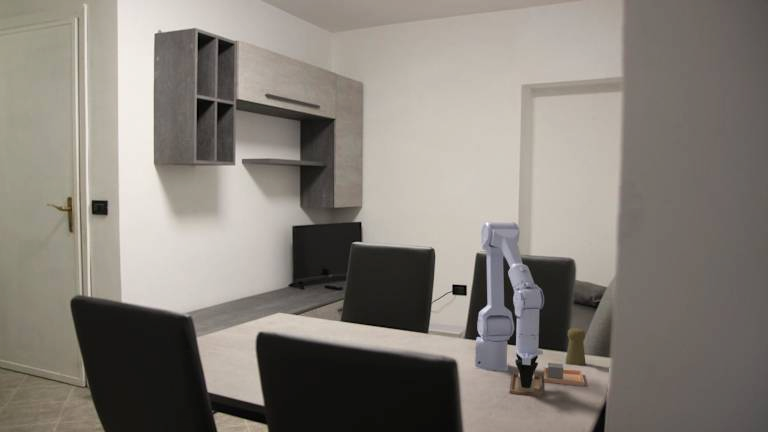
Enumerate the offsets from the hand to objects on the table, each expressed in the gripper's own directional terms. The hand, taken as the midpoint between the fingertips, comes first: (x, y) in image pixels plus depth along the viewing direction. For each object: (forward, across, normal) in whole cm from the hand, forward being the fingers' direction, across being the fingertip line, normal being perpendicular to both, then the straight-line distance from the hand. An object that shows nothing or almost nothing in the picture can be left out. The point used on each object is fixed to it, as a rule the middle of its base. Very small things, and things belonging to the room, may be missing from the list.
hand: (526, 384), depth 147 cm
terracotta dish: (+2, +14, -10) cm, 17 cm away
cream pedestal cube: (+2, 0, 0) cm, 2 cm away
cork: (+2, +31, -14) cm, 34 cm away
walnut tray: (+2, +4, 0) cm, 4 cm away
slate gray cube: (+2, +12, -8) cm, 14 cm away
